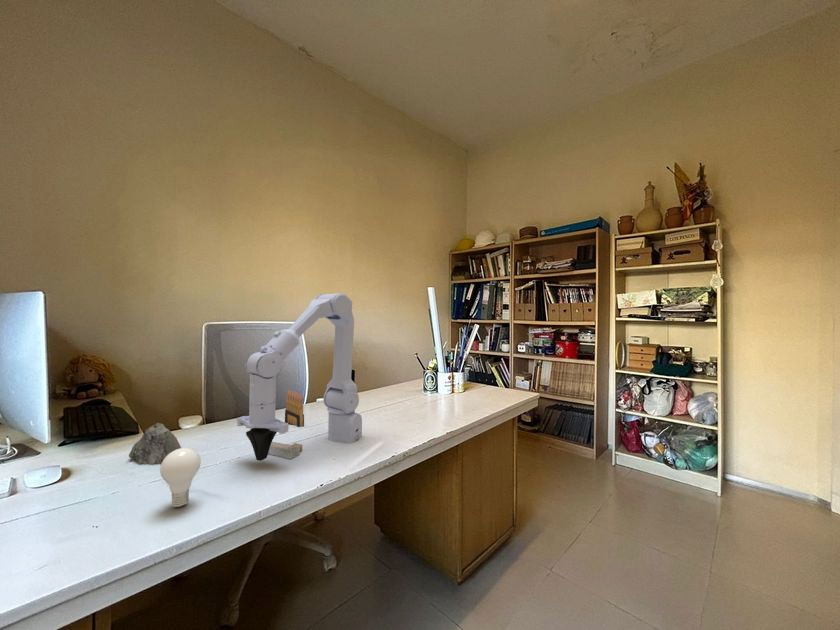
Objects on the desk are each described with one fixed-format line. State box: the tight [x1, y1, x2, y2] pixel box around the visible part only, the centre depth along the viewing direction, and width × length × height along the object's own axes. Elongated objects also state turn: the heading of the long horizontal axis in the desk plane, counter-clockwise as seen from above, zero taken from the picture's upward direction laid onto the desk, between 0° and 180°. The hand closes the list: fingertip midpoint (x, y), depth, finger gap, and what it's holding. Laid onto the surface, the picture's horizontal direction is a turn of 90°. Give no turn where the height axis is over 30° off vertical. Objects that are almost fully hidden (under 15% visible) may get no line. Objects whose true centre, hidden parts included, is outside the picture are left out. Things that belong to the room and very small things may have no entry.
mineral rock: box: [128, 422, 182, 465], centre depth 83 cm, size 13×11×10 cm
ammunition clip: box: [284, 389, 305, 428], centre depth 111 cm, size 11×2×12 cm, turn 46°
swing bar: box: [268, 441, 301, 460], centre depth 86 cm, size 12×3×3 cm, turn 70°
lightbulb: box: [159, 447, 202, 508], centre depth 64 cm, size 6×6×11 cm
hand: (261, 458), depth 79 cm, fingers closed
